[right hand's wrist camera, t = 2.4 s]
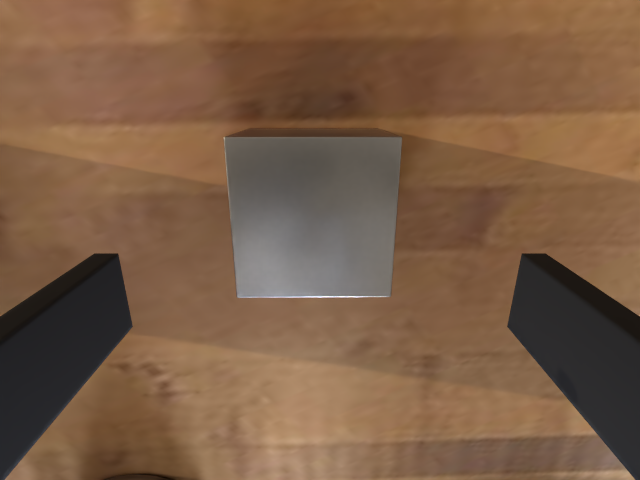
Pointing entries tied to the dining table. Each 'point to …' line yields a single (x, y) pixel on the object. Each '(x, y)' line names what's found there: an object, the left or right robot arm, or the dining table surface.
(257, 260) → the block
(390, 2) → the dining table surface
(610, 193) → the dining table surface
